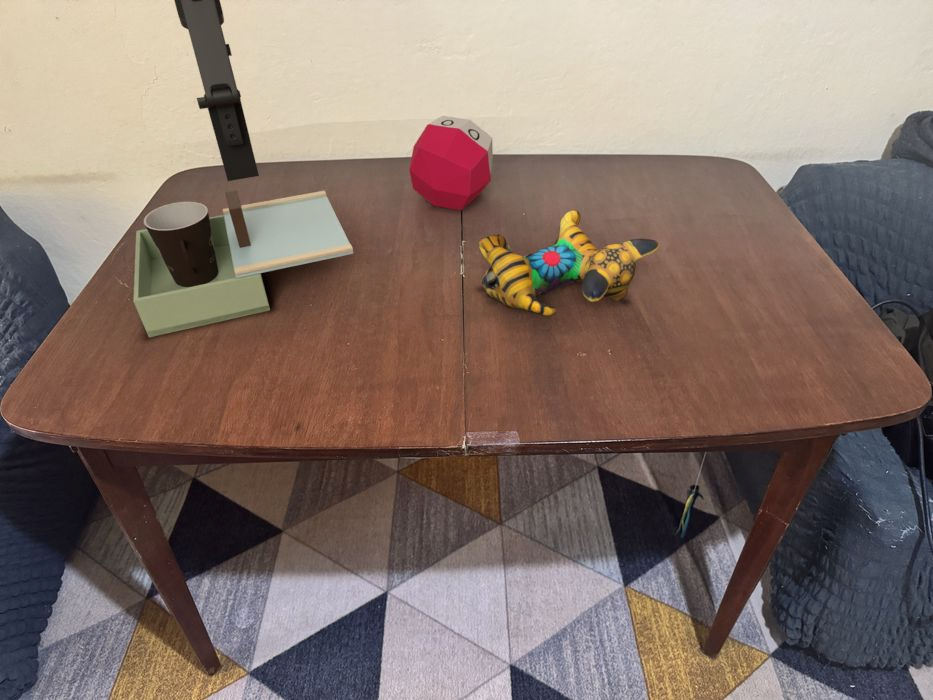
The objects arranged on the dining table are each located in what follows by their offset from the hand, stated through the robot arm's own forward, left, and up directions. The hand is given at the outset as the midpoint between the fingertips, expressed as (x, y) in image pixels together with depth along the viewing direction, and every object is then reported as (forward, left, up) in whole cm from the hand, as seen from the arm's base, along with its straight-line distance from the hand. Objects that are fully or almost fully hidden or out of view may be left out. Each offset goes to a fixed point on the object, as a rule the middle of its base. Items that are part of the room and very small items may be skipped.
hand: (235, 150), depth 62 cm
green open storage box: (-9, +25, -29) cm, 39 cm away
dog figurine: (+39, +2, -29) cm, 48 cm away
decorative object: (+35, +37, -29) cm, 59 cm away
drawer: (+4, +25, -23) cm, 34 cm away
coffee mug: (-11, +26, -28) cm, 39 cm away
